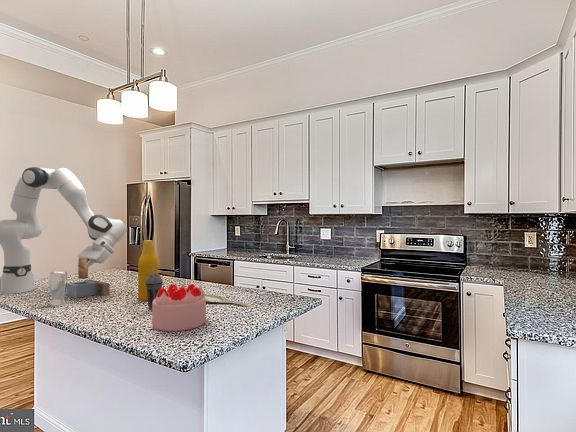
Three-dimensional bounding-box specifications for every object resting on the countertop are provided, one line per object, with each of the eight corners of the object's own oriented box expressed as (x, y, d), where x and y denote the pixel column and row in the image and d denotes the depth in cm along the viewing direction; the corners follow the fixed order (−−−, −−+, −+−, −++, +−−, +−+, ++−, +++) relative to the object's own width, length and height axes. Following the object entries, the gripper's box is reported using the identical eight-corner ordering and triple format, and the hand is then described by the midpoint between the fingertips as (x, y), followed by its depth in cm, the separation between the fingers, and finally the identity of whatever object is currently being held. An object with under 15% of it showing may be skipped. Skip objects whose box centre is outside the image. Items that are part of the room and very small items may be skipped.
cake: (216, 320, 136) (216, 284, 136) (177, 336, 119) (177, 294, 119) (180, 313, 146) (180, 279, 146) (139, 326, 129) (139, 288, 129)
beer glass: (58, 307, 155) (58, 273, 155) (45, 306, 157) (45, 273, 157) (71, 303, 162) (71, 271, 162) (58, 302, 164) (58, 270, 164)
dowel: (76, 278, 170) (77, 258, 170) (85, 277, 173) (85, 257, 173) (80, 279, 168) (80, 258, 167) (89, 278, 171) (89, 257, 171)
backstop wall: (84, 291, 187) (84, 280, 187) (90, 290, 190) (90, 279, 190) (103, 296, 176) (103, 284, 176) (109, 295, 179) (109, 283, 179)
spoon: (263, 308, 160) (263, 304, 160) (250, 314, 151) (251, 310, 150) (203, 296, 175) (203, 292, 175) (189, 300, 166) (189, 296, 166)
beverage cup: (166, 307, 155) (166, 263, 155) (155, 311, 148) (155, 265, 148) (153, 306, 158) (153, 262, 157) (141, 310, 151) (141, 264, 151)
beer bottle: (158, 300, 168) (158, 240, 168) (137, 302, 165) (137, 241, 164) (158, 296, 176) (158, 239, 176) (138, 297, 173) (138, 240, 173)
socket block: (66, 295, 177) (66, 283, 177) (87, 291, 186) (87, 280, 186) (76, 297, 172) (76, 285, 172) (96, 294, 180) (96, 282, 180)
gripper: (87, 241, 182) (67, 261, 174) (108, 243, 170) (87, 265, 162) (96, 248, 186) (76, 269, 178) (116, 251, 174) (96, 273, 166)
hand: (81, 267), depth 170 cm, fingers closed on dowel, 4 cm apart
